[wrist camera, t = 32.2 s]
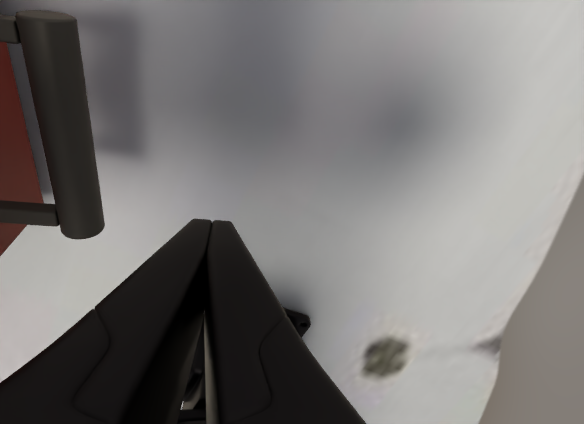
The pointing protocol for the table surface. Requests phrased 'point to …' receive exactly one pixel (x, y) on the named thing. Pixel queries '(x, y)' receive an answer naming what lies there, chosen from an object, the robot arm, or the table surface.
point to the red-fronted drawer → (47, 130)
